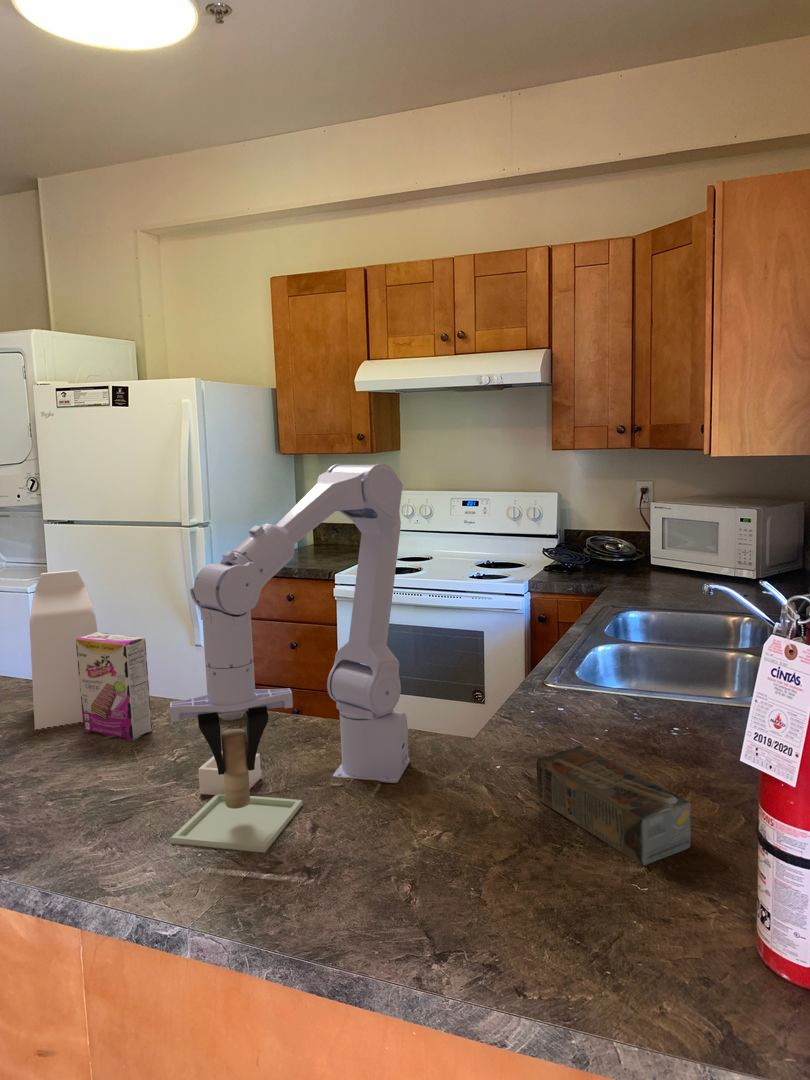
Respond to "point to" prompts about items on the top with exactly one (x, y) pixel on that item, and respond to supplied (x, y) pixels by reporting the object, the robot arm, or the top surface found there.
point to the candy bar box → (114, 685)
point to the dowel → (235, 768)
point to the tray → (238, 824)
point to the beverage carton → (615, 804)
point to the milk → (58, 646)
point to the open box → (222, 777)
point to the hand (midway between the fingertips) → (236, 769)
